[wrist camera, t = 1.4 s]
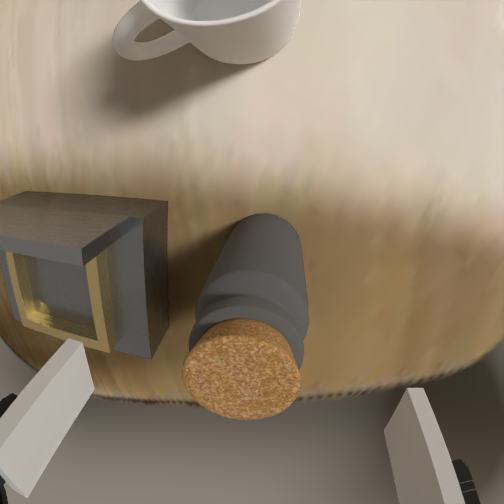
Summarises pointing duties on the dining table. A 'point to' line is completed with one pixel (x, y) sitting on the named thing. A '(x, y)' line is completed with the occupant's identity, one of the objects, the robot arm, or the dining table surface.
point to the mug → (210, 28)
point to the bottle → (250, 323)
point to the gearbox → (88, 268)
